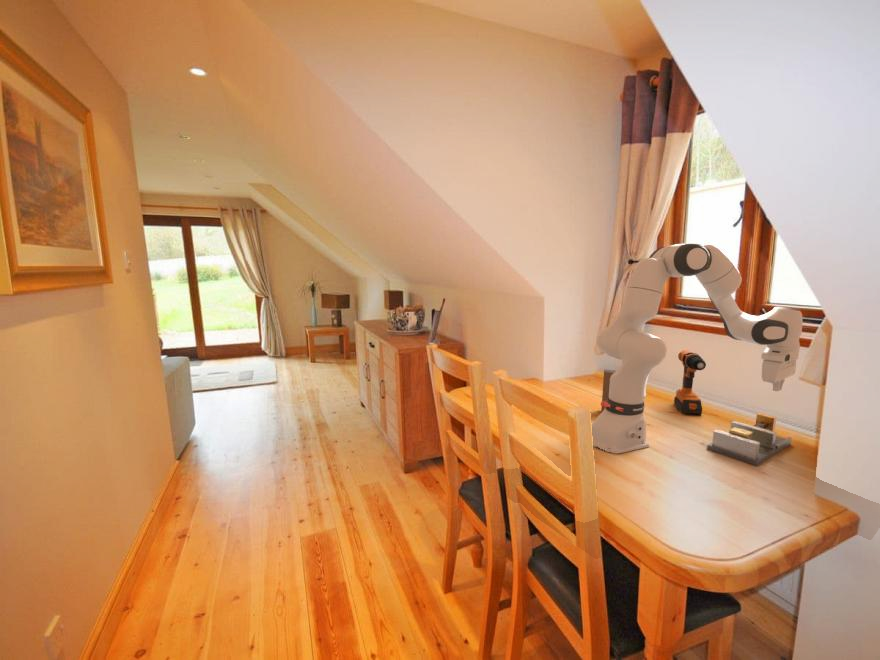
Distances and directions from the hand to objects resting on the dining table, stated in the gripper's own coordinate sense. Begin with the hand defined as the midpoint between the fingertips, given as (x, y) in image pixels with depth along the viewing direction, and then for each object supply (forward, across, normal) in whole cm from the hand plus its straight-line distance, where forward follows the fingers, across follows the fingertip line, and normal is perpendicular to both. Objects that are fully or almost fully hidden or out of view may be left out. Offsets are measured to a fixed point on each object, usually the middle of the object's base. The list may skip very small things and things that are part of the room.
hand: (777, 390), depth 145 cm
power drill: (+17, +1, -28) cm, 33 cm away
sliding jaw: (+15, +12, 0) cm, 19 cm away
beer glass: (+17, -2, -52) cm, 55 cm away
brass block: (+15, +27, 0) cm, 31 cm away
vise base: (+16, +19, 0) cm, 25 cm away
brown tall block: (+16, +30, -44) cm, 56 cm away
